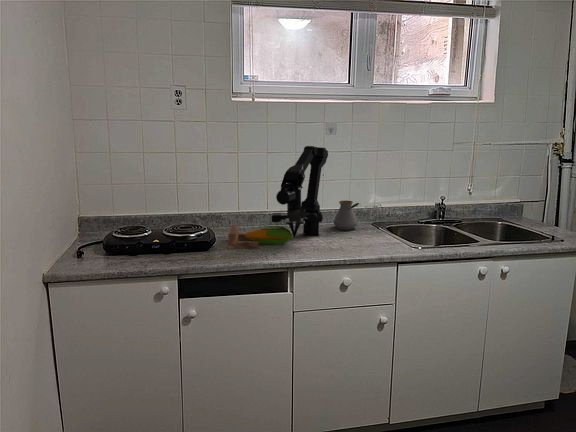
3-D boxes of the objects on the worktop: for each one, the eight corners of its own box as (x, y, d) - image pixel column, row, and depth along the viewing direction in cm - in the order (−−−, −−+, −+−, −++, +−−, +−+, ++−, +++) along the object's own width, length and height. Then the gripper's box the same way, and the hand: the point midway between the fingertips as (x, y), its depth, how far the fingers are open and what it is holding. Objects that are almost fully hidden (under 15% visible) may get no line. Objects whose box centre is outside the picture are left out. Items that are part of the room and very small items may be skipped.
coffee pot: (330, 226, 235) (330, 195, 232) (352, 224, 238) (353, 194, 235) (345, 236, 215) (346, 203, 212) (369, 235, 218) (370, 202, 214)
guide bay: (259, 239, 210) (259, 225, 209) (258, 248, 196) (258, 234, 194) (232, 239, 210) (231, 225, 209) (228, 248, 196) (228, 234, 194)
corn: (292, 227, 199) (243, 227, 198) (292, 245, 200) (243, 245, 199) (291, 224, 206) (244, 224, 205) (291, 242, 207) (244, 242, 207)
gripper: (271, 204, 191) (271, 242, 194) (318, 203, 192) (318, 242, 195) (271, 199, 202) (272, 236, 205) (316, 199, 203) (316, 235, 206)
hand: (294, 237), depth 203 cm, fingers closed
